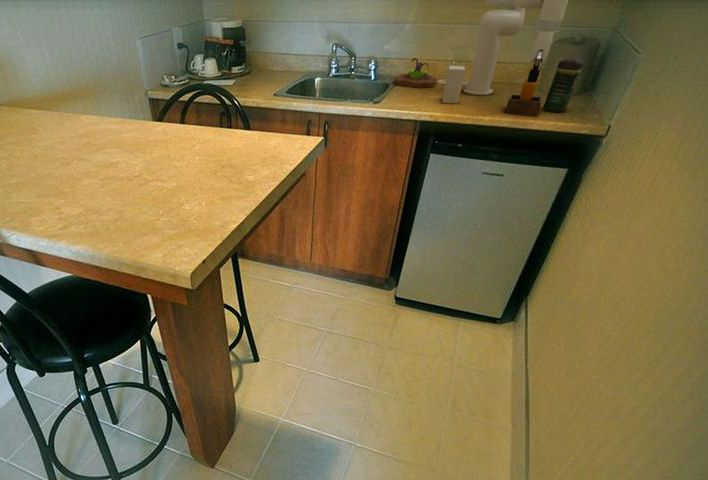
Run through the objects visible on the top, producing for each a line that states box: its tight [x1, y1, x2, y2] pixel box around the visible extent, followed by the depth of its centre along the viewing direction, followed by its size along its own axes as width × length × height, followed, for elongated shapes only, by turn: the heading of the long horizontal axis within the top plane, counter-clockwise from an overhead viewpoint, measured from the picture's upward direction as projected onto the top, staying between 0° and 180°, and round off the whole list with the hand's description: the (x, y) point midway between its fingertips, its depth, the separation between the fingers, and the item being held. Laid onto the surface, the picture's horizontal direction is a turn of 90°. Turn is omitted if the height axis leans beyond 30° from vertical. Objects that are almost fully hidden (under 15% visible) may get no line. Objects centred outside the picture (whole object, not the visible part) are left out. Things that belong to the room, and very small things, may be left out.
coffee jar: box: [542, 56, 585, 113], centre depth 157 cm, size 10×8×19 cm
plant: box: [394, 57, 437, 89], centre depth 199 cm, size 20×20×11 cm
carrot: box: [519, 73, 541, 101], centre depth 156 cm, size 5×5×15 cm
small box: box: [442, 65, 466, 104], centre depth 171 cm, size 8×6×13 cm
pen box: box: [504, 93, 543, 117], centre depth 159 cm, size 11×9×5 cm
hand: (532, 79), depth 153 cm, fingers open, 9 cm apart
